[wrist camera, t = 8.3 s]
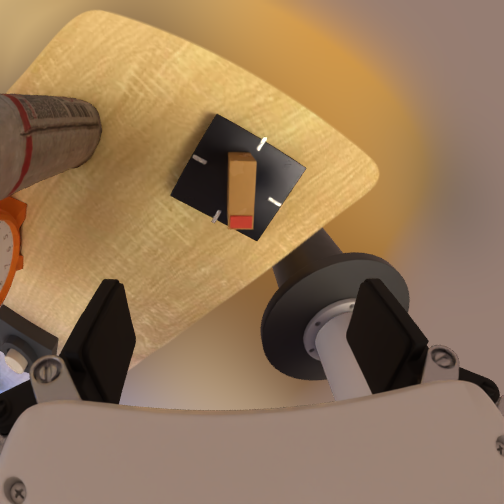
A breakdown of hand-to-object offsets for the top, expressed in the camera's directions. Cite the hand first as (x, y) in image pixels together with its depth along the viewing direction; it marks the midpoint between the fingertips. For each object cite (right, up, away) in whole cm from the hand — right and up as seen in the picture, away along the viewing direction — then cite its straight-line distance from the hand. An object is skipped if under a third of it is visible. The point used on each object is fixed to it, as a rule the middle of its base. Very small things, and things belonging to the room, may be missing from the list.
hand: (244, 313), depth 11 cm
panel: (-1, +10, +18) cm, 21 cm away
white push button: (-38, -15, +22) cm, 46 cm away
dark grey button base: (-38, -13, +26) cm, 48 cm away
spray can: (-19, +15, +14) cm, 28 cm away
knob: (-1, +9, +16) cm, 18 cm away
